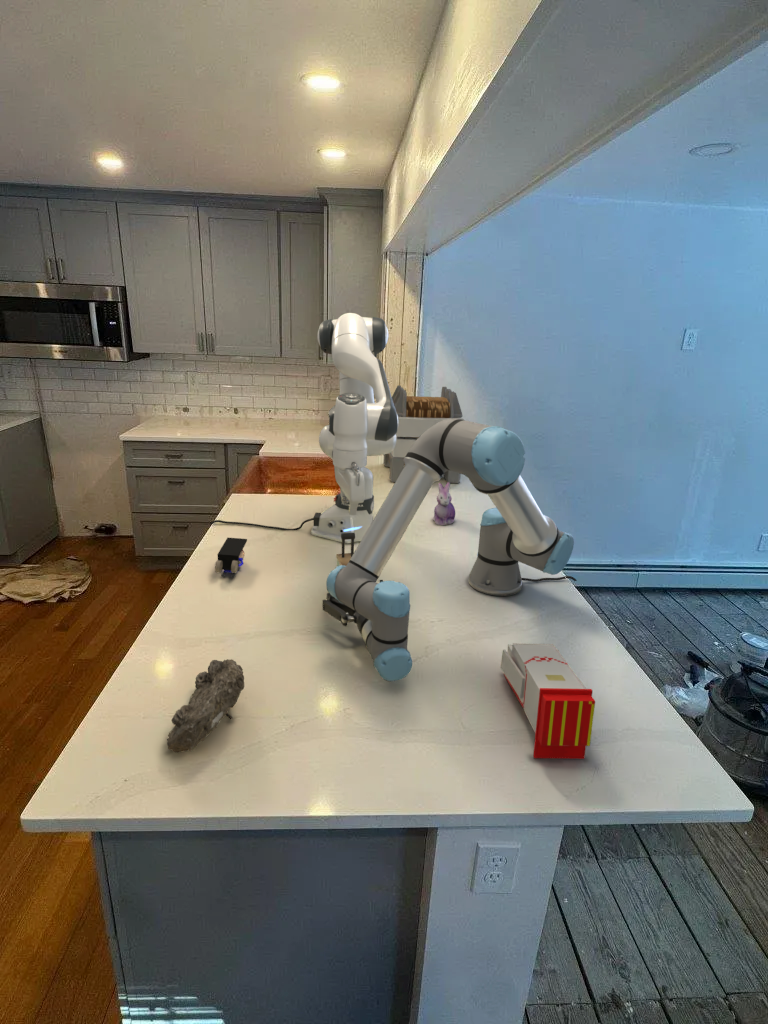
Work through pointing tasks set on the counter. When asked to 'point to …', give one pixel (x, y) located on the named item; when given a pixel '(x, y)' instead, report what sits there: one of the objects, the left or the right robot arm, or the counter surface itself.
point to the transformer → (419, 425)
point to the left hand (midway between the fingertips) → (348, 508)
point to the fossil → (206, 705)
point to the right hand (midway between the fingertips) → (355, 586)
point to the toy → (550, 699)
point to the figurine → (444, 506)
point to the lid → (344, 557)
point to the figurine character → (230, 556)
